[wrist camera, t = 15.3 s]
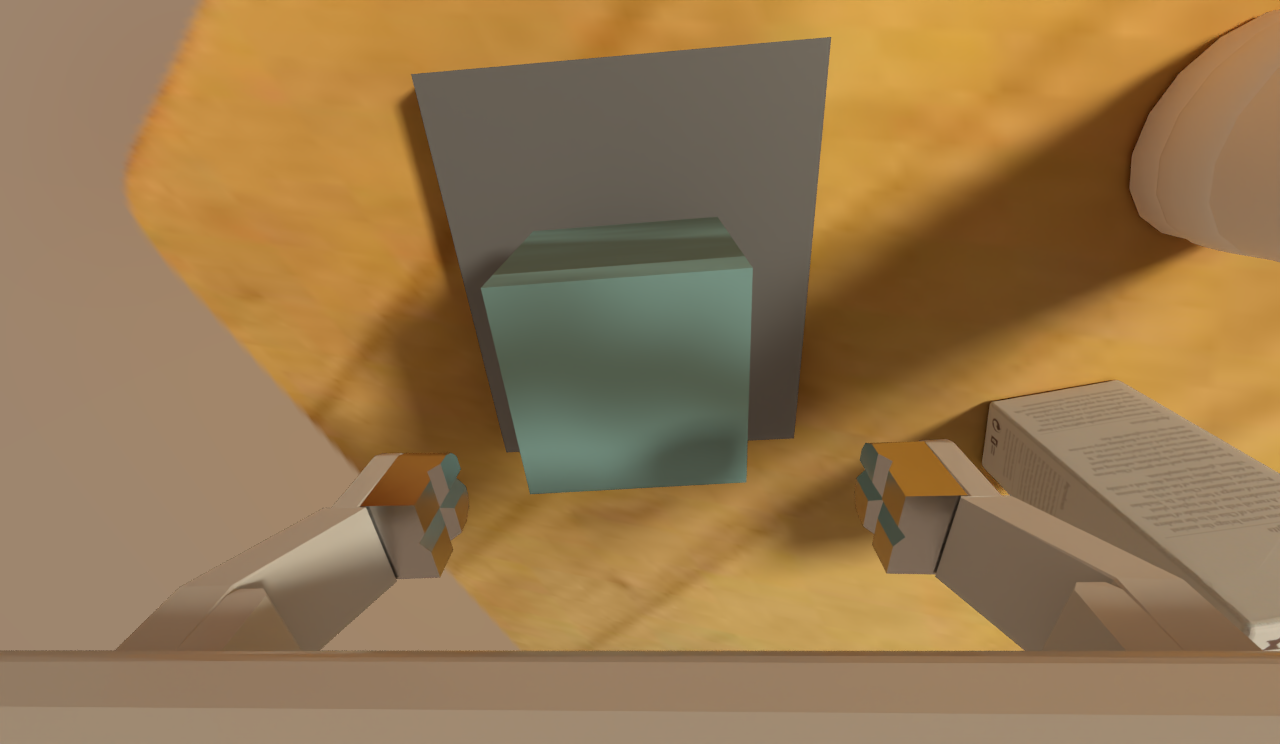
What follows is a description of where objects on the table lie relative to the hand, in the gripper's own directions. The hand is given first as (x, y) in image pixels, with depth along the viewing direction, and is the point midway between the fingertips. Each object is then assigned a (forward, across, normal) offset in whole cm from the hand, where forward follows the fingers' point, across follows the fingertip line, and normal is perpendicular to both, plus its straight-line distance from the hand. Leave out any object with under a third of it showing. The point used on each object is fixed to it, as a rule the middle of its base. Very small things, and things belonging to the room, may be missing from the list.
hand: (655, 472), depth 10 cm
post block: (+13, +1, 0) cm, 13 cm away
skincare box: (+14, -19, +8) cm, 25 cm away
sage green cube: (+9, +1, 0) cm, 9 cm away
